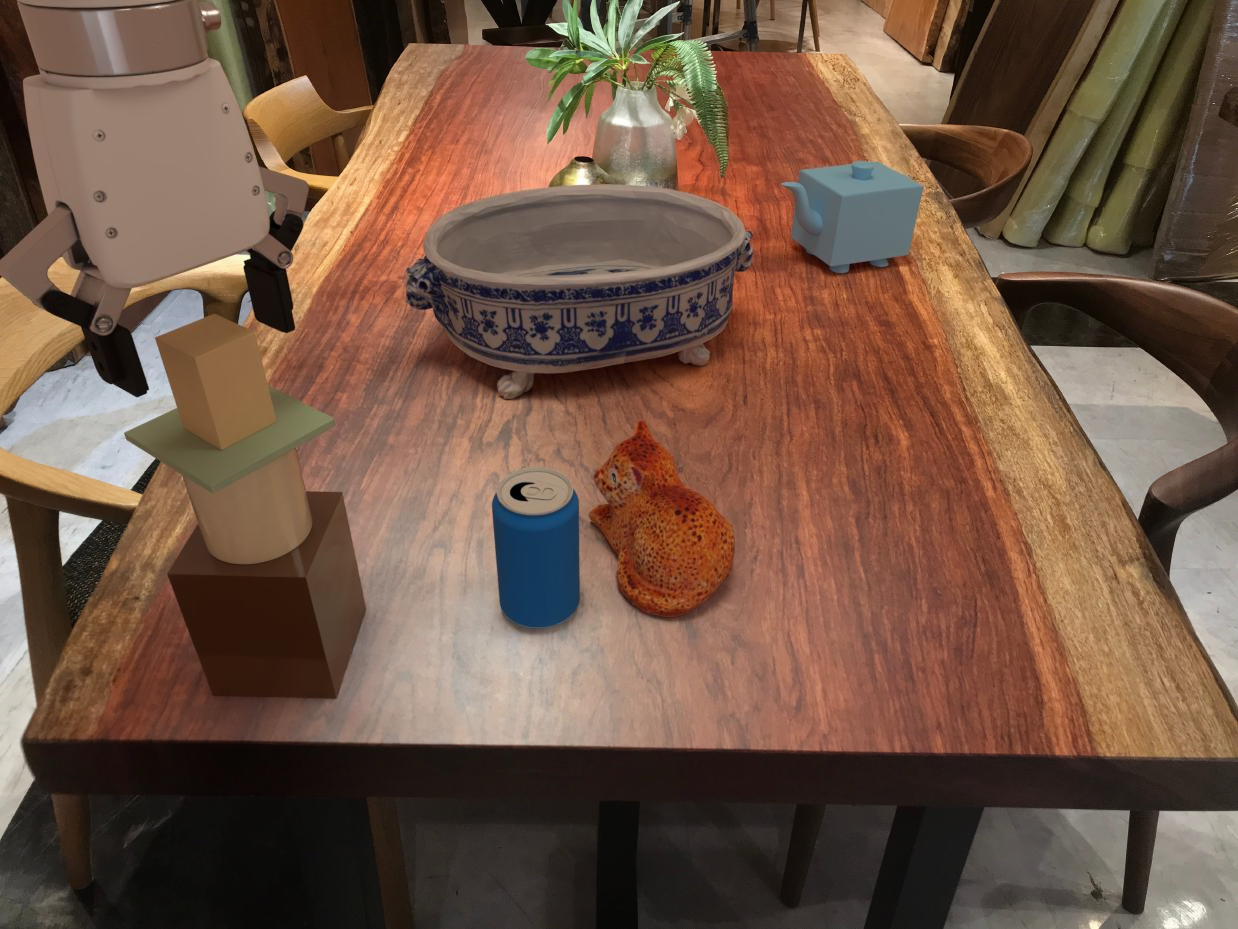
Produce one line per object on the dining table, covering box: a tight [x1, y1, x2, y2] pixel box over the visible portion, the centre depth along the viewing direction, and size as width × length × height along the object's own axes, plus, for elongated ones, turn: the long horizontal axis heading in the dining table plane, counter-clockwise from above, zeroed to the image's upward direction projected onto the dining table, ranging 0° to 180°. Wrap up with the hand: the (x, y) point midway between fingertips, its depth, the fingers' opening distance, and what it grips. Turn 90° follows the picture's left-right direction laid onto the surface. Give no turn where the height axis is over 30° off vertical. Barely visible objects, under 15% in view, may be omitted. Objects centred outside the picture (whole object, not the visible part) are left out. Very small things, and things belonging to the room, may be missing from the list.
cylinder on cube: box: [166, 447, 367, 699], centre depth 62 cm, size 9×9×20 cm
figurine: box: [588, 420, 736, 618], centre depth 75 cm, size 15×11×10 cm
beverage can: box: [491, 466, 581, 629], centre depth 69 cm, size 6×6×12 cm
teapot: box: [780, 160, 925, 274], centre depth 127 cm, size 22×11×14 cm, turn 111°
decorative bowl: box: [404, 183, 755, 400], centre depth 105 cm, size 42×27×15 cm, turn 110°
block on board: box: [123, 313, 337, 494], centre depth 55 cm, size 9×9×7 cm
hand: (207, 355), depth 53 cm, fingers open, 9 cm apart
